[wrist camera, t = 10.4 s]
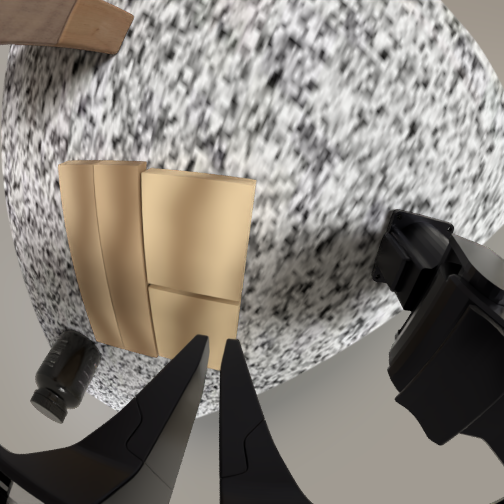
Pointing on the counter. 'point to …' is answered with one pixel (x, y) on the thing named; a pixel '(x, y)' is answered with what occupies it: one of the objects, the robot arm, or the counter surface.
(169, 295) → the oak plank
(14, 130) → the counter surface
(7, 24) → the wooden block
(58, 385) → the supplement bottle
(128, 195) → the laid floor row
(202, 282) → the oak plank
